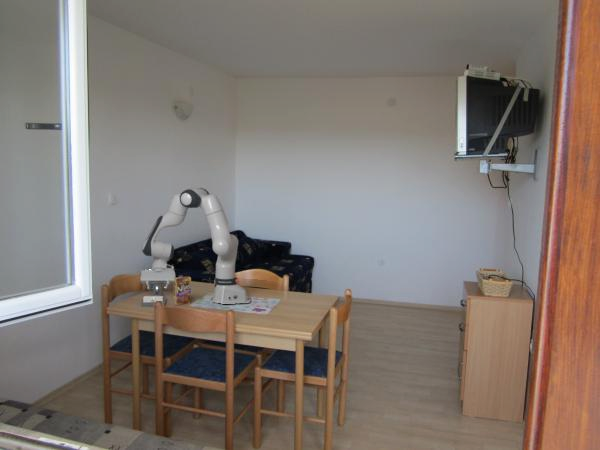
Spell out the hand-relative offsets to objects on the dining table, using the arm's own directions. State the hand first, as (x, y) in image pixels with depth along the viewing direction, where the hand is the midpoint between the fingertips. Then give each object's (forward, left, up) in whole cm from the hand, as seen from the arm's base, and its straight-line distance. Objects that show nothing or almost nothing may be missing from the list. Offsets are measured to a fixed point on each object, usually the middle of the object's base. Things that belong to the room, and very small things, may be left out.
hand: (157, 288), depth 270 cm
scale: (0, +14, -5) cm, 15 cm away
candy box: (-15, +14, -5) cm, 21 cm away
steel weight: (0, 0, -5) cm, 5 cm away
